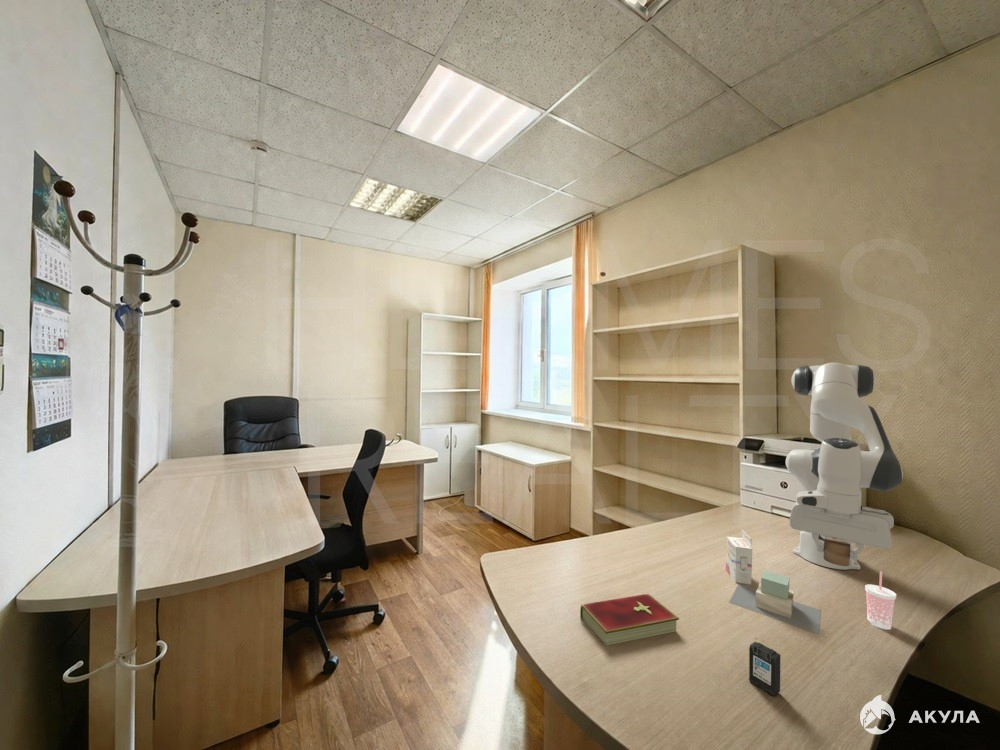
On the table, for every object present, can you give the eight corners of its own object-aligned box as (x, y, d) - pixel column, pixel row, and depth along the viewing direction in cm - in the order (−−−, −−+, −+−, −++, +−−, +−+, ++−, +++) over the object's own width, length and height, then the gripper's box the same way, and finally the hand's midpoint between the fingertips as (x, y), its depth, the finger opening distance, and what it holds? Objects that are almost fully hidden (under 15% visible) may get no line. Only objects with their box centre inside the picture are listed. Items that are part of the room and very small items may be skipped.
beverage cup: (898, 634, 102) (900, 579, 102) (866, 625, 106) (868, 572, 106) (891, 622, 108) (893, 570, 107) (861, 614, 111) (863, 563, 111)
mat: (738, 585, 124) (738, 583, 124) (820, 611, 111) (820, 610, 111) (728, 603, 114) (728, 602, 114) (818, 635, 101) (818, 633, 101)
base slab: (759, 594, 118) (760, 581, 118) (793, 605, 113) (793, 591, 113) (755, 606, 112) (755, 592, 112) (790, 618, 107) (791, 603, 107)
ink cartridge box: (724, 571, 133) (726, 526, 133) (741, 573, 132) (742, 528, 132) (734, 584, 125) (736, 537, 125) (751, 586, 124) (753, 538, 124)
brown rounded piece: (823, 554, 108) (824, 536, 108) (849, 561, 104) (849, 542, 104) (823, 561, 104) (824, 542, 104) (850, 568, 100) (850, 548, 100)
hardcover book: (580, 618, 105) (580, 602, 105) (646, 606, 112) (647, 591, 112) (605, 648, 94) (606, 630, 94) (678, 633, 100) (679, 616, 100)
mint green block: (763, 583, 117) (764, 570, 117) (789, 591, 113) (789, 577, 113) (760, 592, 112) (761, 577, 112) (787, 600, 108) (787, 585, 108)
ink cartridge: (748, 681, 84) (749, 643, 85) (754, 677, 86) (754, 640, 86) (774, 697, 80) (775, 657, 80) (780, 693, 81) (780, 653, 82)
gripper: (892, 508, 100) (890, 563, 100) (791, 491, 113) (789, 539, 113) (895, 514, 95) (893, 573, 95) (789, 495, 108) (787, 546, 108)
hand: (836, 554), depth 104 cm, fingers closed on brown rounded piece, 5 cm apart
